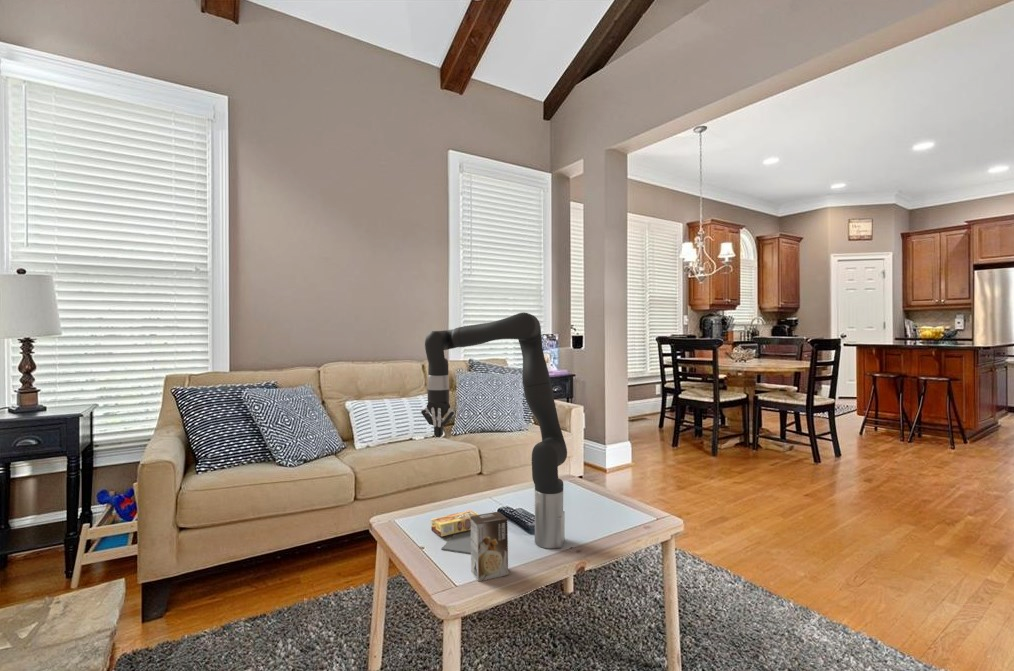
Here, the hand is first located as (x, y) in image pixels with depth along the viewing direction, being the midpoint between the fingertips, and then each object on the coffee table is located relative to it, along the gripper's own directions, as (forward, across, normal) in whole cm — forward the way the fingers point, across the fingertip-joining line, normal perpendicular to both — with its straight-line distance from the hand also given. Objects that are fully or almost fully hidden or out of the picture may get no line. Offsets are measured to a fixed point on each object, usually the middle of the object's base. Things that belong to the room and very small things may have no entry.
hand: (438, 437), depth 168 cm
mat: (+31, -16, +10) cm, 37 cm away
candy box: (+28, -2, +8) cm, 30 cm away
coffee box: (+31, -28, +26) cm, 49 cm away
